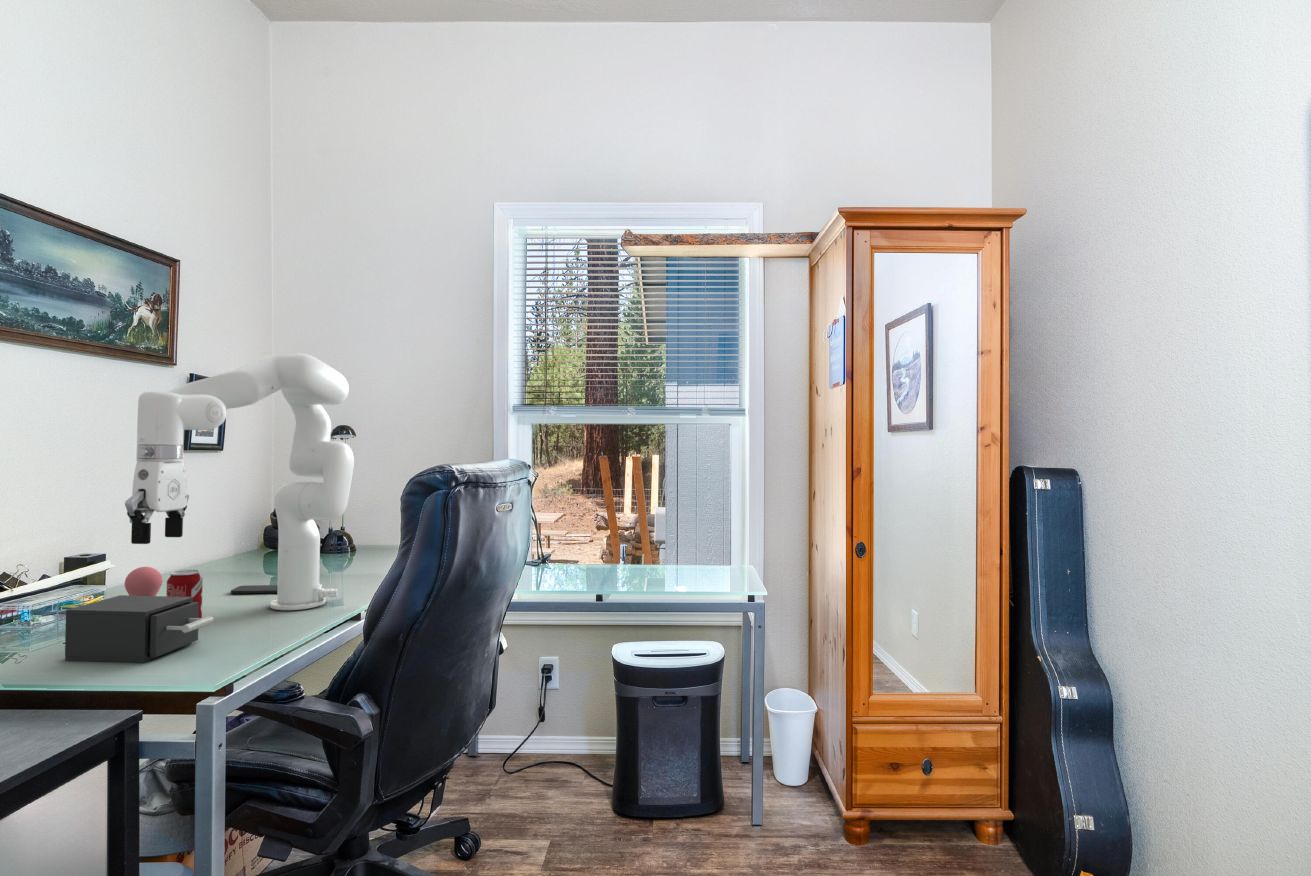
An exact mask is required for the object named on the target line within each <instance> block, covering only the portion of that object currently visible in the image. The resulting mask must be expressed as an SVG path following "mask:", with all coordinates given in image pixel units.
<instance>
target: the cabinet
mask: <svg viewBox="0 0 1311 876" xmlns="http://www.w3.org/2000/svg"><path fill="white" fill-rule="evenodd" d="M192 602H193V597H170V596H166V595H165V596H164V595H156V596H129V594H128V595H127V594H125V595H124V594H123V595H121V594H120V595H116V596H112V597H109V598H105V599H101V600H98V601H97V600H96V601H94V602H90V603H87V604H83V605H78V606H75V607H72V608H67V609H66V610H65V630H64V631H65V633H64V635H65V636H64V640H65V641H64V660H65V661H71V662H72V661H75V662H76V661H77V662H106V663H107V662H112V663H141V664H142V663H143V664H144V663H147V662H150V661H152V660H154V659H156V658H157V659H158V658H159V657H161V656H162V657H163V656H164V655H166V654H169V653H171V652H174V651H176V650H179V649H181V648H184V647H186V646H188V645H191V644H192V643H189V644H187V645H184V646H182V647H179V648H177V649H174V650H172V651H169V652H167V653H165V654H162V655H160V656H157V657H150V653H148V618H149V615H150V614H153V613H156V612H159V611H162V610H166V609H169V608H172V607H175V606H178V605H181V604H184V605H186V604H189V603H192Z"/></svg>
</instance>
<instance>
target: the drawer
mask: <svg viewBox="0 0 1311 876" xmlns="http://www.w3.org/2000/svg"><path fill="white" fill-rule="evenodd" d="M198 611H199V602H192V603H189V604H186V605H184V604H181V605H178V606H175V607H172V608H169V609H166V610H162V611H159V612H156V613H153V614H150V615H149V618H148V653H150V657H157V656H159V657H161V656H160V655H162V654H164V655H166V654H165V653H167V652H169V651H172V650H174V649H176V650H178V649H177V648H179V647H181V648H183V647H182V646H184V645H186V646H188V645H187V644H189V643H191V644H192V643H194V642H197V641H199V629H200V628H202V627H205V626H207V625H210V624H213V622H214V617H213V616H211V615H208V616H206V617H202V618H198ZM189 645H190V644H189ZM184 647H185V646H184ZM179 649H180V648H179ZM174 651H175V650H174ZM172 652H173V651H172ZM169 653H170V652H169ZM167 654H168V653H167ZM162 656H163V655H162ZM157 658H158V657H157Z"/></svg>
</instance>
